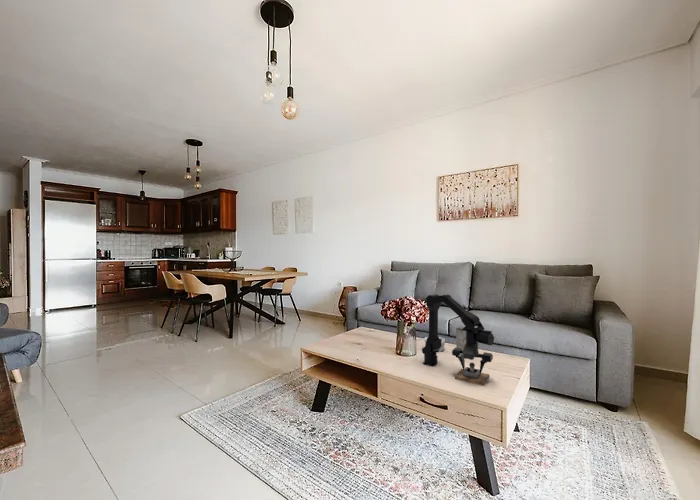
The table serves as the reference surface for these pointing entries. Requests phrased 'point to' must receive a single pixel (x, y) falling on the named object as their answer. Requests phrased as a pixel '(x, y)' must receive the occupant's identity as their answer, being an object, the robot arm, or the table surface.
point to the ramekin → (441, 343)
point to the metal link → (471, 373)
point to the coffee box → (460, 338)
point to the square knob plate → (480, 380)
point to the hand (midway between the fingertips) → (472, 371)
